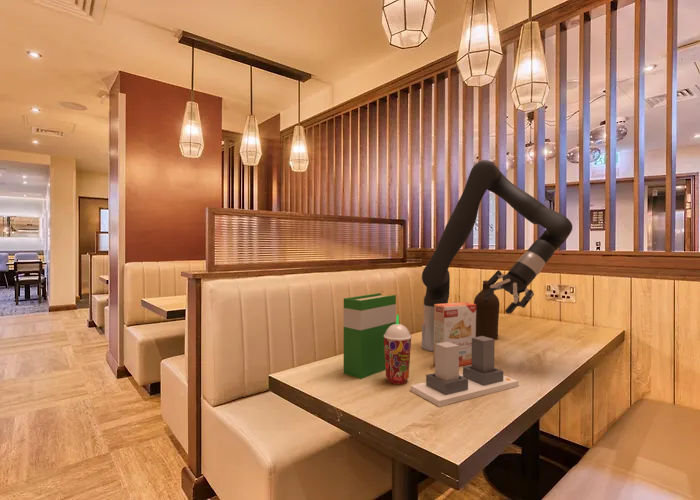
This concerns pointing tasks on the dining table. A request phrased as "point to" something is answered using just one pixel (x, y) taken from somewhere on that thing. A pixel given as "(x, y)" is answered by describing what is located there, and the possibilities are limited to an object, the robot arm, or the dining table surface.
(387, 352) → the smoothie
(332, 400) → the dining table surface
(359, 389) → the dining table surface
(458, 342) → the cracker box
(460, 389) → the white board with sockets
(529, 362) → the dining table surface
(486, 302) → the olive oil
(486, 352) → the charcoal plug
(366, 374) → the hardback book
